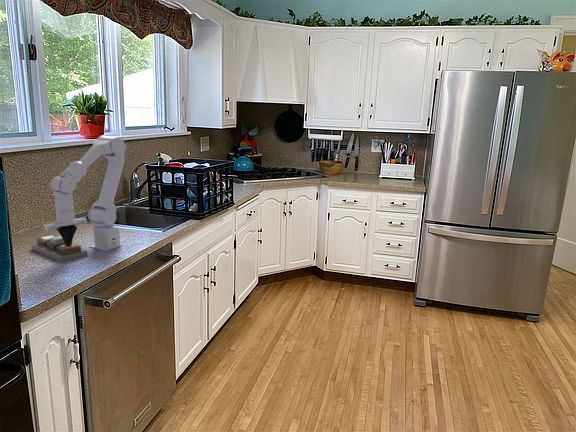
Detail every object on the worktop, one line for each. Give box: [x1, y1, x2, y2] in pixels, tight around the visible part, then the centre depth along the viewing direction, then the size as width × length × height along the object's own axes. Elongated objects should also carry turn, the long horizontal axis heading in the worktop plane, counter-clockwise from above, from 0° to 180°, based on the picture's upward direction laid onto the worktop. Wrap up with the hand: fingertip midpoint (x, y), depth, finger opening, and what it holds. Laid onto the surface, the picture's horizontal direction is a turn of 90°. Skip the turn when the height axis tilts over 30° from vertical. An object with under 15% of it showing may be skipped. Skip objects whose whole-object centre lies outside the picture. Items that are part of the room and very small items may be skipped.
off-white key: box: [40, 234, 55, 241], centre depth 163 cm, size 4×4×2 cm
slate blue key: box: [50, 235, 64, 245], centre depth 158 cm, size 4×4×2 cm
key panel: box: [30, 234, 88, 263], centre depth 159 cm, size 22×10×4 cm, turn 54°
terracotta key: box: [60, 243, 78, 249], centre depth 155 cm, size 4×4×2 cm
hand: (68, 245), depth 154 cm, fingers closed, pressing on terracotta key
